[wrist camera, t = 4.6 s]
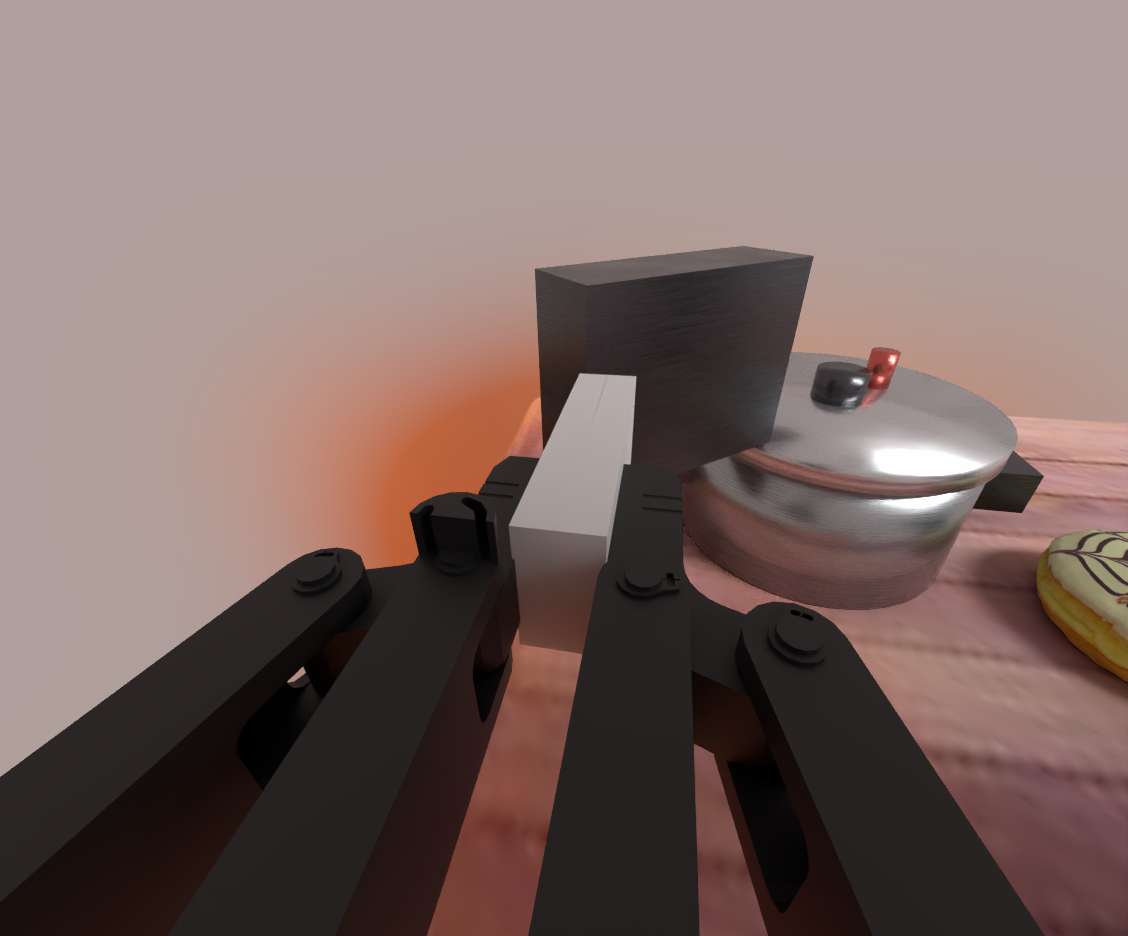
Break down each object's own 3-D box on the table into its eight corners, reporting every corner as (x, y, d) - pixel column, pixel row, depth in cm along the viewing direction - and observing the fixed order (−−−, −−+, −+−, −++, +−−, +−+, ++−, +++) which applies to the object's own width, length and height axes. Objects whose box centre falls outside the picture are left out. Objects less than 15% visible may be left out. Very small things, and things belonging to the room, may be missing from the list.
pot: (928, 473, 35) (969, 383, 32) (1067, 638, 23) (1159, 521, 19) (575, 444, 40) (574, 363, 36) (529, 569, 28) (522, 465, 24)
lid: (804, 355, 36) (839, 218, 31) (1067, 439, 24) (1186, 241, 20) (494, 434, 26) (475, 249, 21) (689, 641, 14) (744, 336, 10)
